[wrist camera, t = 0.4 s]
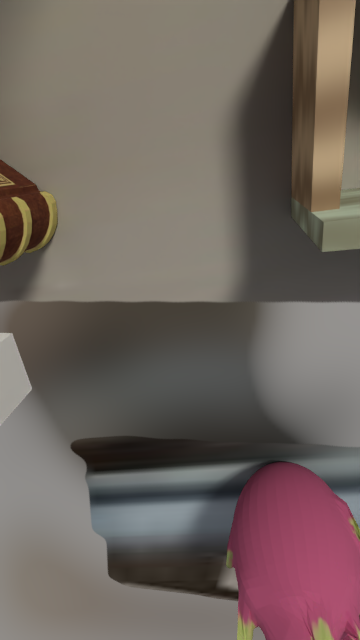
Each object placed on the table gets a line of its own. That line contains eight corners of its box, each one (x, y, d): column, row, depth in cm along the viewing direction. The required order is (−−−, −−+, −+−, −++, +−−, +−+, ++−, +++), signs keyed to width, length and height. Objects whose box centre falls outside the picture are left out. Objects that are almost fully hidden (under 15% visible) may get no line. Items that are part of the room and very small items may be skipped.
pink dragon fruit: (241, 500, 57) (246, 797, 30) (215, 448, 52) (193, 751, 25) (347, 489, 51) (463, 841, 25) (330, 430, 46) (452, 793, 20)
